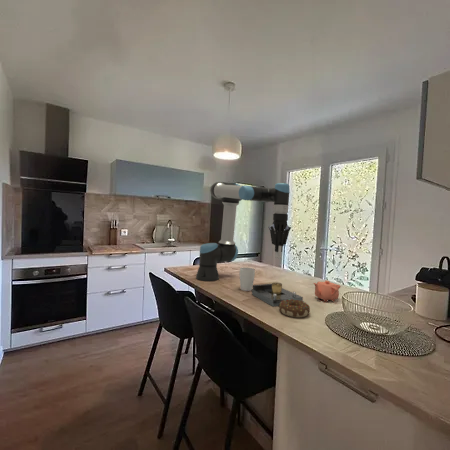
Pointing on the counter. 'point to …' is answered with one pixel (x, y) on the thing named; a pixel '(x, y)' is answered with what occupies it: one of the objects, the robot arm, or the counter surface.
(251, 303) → the counter surface
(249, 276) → the cup
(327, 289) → the pink piggy bank
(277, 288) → the amber grooved cylinder
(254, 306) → the counter surface
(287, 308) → the donut
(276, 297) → the jig
